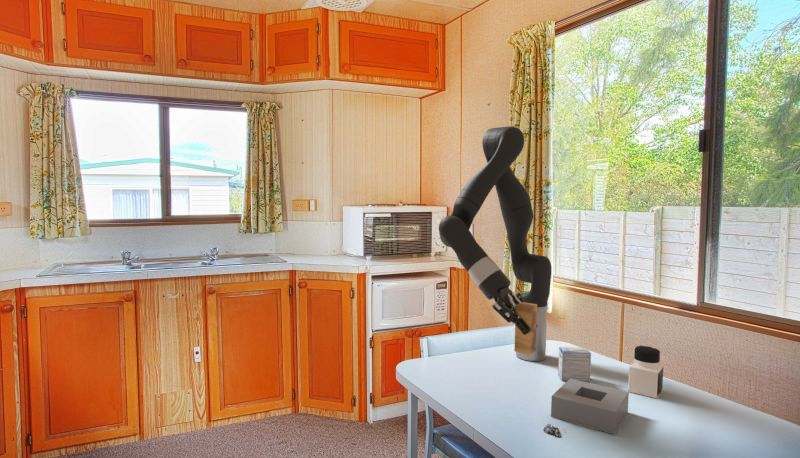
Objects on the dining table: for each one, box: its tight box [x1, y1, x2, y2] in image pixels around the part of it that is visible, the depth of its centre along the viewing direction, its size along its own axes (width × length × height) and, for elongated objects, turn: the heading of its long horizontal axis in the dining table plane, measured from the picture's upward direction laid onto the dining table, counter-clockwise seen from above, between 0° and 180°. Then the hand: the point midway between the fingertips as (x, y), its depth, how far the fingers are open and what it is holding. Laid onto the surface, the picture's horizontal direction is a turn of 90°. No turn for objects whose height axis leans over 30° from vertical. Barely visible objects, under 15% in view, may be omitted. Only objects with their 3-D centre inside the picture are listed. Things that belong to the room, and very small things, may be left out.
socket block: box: [550, 379, 630, 435], centre depth 116 cm, size 14×14×5 cm
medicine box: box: [557, 346, 592, 383], centre depth 139 cm, size 8×4×9 cm, turn 84°
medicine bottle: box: [627, 344, 664, 399], centre depth 130 cm, size 7×7×12 cm
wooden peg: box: [514, 302, 537, 355], centre depth 124 cm, size 4×4×12 cm
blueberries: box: [542, 423, 567, 438], centre depth 107 cm, size 7×8×2 cm
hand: (531, 330), depth 123 cm, fingers closed on wooden peg, 4 cm apart
